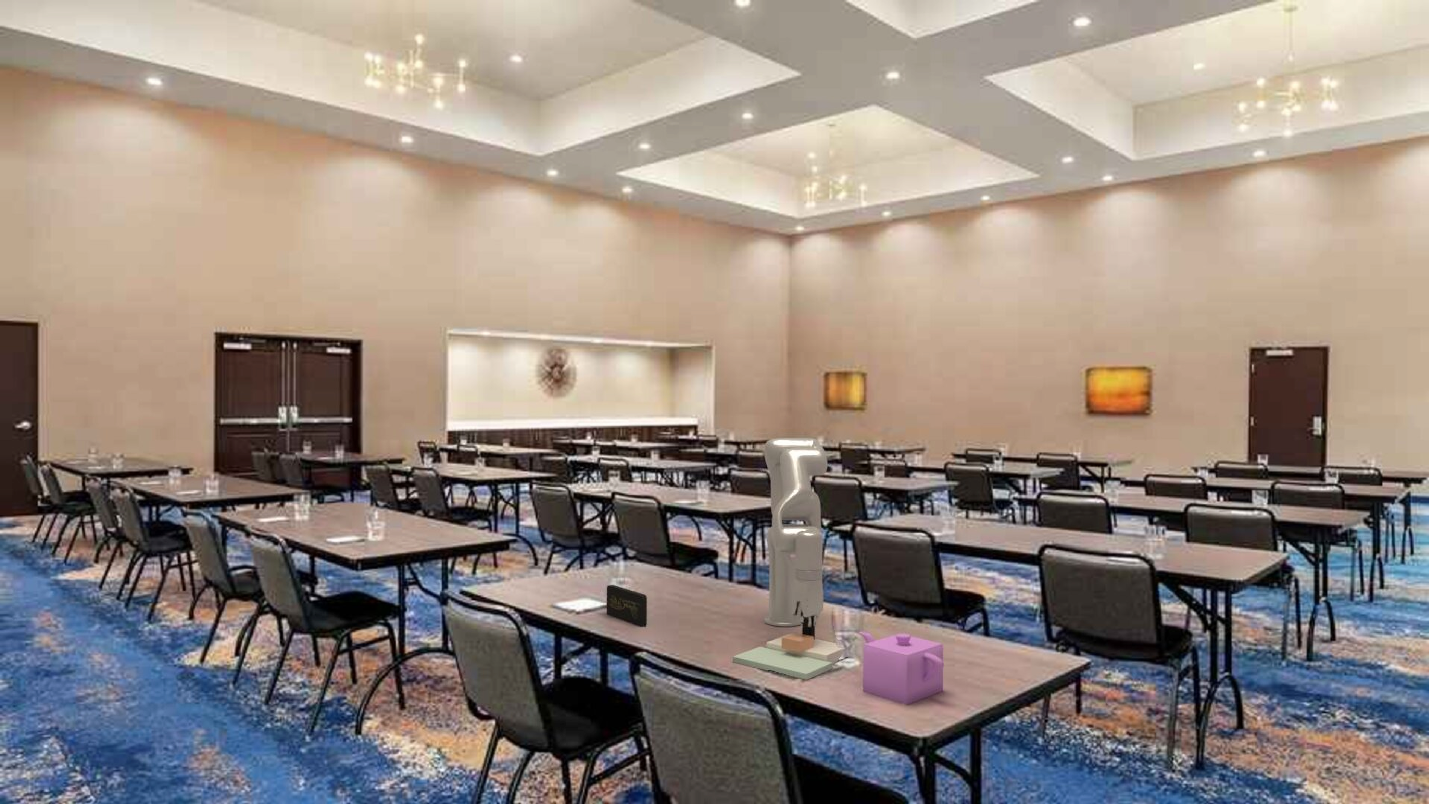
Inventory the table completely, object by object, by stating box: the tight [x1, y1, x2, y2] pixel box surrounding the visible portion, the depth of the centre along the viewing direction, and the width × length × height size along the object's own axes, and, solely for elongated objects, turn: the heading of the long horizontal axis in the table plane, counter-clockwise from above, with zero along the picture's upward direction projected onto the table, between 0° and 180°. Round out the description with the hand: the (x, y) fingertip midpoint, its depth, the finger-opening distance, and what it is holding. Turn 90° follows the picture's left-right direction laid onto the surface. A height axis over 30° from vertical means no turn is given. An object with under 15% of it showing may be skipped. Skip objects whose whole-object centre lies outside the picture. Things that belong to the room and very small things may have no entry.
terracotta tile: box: [781, 632, 814, 652], centre depth 242 cm, size 7×6×3 cm
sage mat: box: [732, 646, 833, 681], centre depth 236 cm, size 13×24×2 cm, turn 51°
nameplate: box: [606, 584, 648, 628], centre depth 284 cm, size 21×2×10 cm, turn 39°
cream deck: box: [765, 633, 845, 665], centre depth 246 cm, size 12×20×3 cm, turn 51°
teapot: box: [858, 631, 945, 706], centre depth 216 cm, size 15×25×14 cm, turn 42°
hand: (808, 639), depth 246 cm, fingers closed
